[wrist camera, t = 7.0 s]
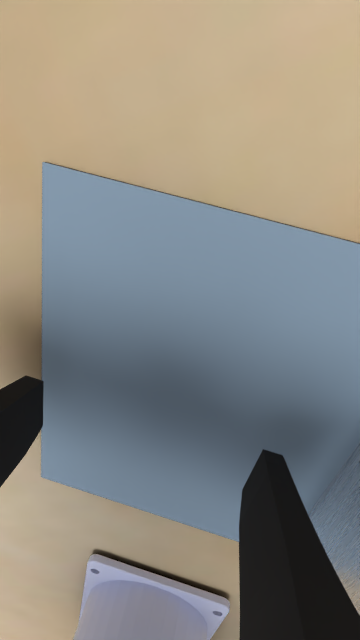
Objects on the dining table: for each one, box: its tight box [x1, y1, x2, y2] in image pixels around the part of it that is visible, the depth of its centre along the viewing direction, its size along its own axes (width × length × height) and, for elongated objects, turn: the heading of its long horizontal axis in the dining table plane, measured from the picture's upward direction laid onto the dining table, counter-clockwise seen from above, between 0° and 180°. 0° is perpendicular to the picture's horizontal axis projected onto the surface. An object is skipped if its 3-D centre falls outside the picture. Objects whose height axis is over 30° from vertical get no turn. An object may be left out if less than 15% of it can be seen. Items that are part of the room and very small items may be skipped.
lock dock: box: [41, 162, 360, 542], centre depth 11 cm, size 14×22×2 cm, turn 78°
